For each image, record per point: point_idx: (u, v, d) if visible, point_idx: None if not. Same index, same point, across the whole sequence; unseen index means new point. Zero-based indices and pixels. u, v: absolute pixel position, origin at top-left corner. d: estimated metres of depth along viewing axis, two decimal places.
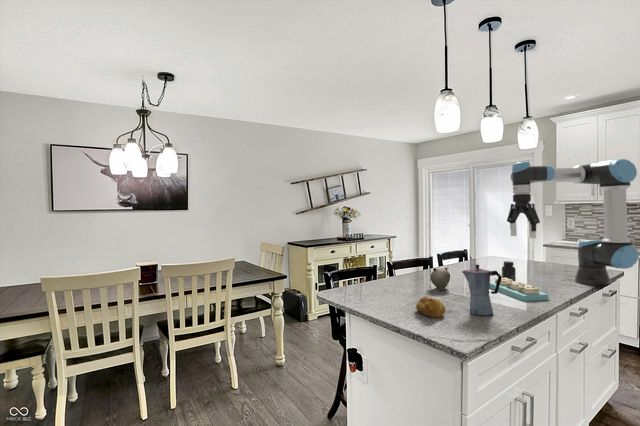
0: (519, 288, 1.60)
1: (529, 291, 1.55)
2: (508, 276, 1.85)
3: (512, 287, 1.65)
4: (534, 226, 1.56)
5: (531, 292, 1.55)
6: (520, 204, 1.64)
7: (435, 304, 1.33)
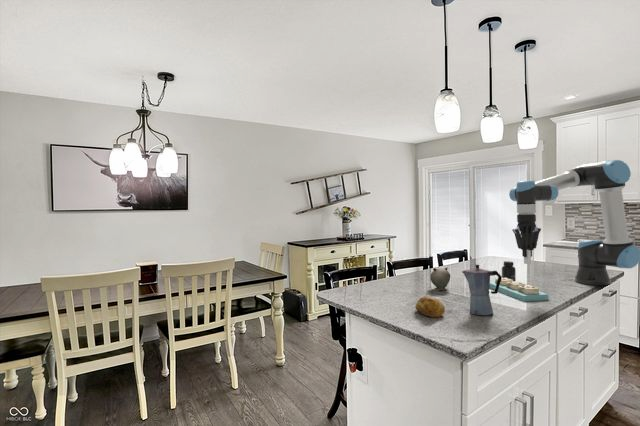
0: (519, 288, 1.60)
1: (529, 291, 1.55)
2: (508, 276, 1.85)
3: (512, 287, 1.65)
4: (523, 251, 1.58)
5: (531, 292, 1.55)
6: None
7: (434, 304, 1.33)
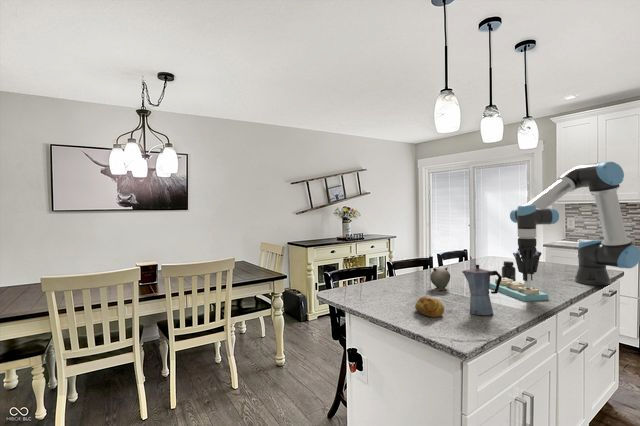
0: (520, 290, 1.60)
1: (529, 292, 1.55)
2: (508, 276, 1.85)
3: (512, 287, 1.65)
4: (523, 275, 1.58)
5: (531, 293, 1.55)
6: None
7: (433, 304, 1.33)
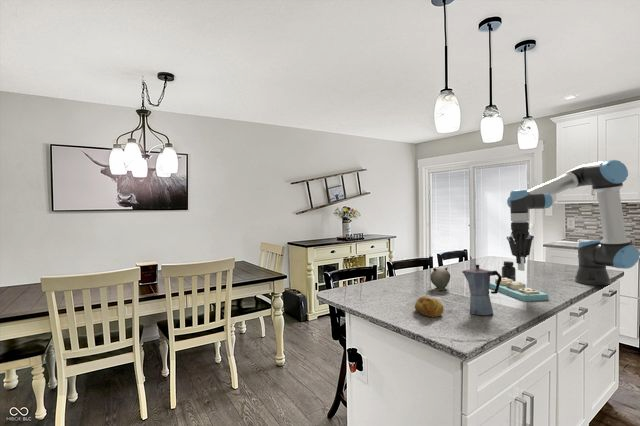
0: (520, 291, 1.60)
1: None
2: (508, 276, 1.85)
3: (512, 287, 1.65)
4: (517, 258, 1.63)
5: None
6: None
7: (433, 304, 1.34)
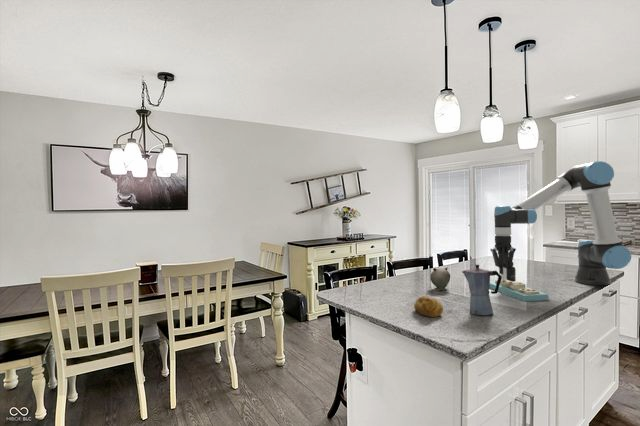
0: (520, 291, 1.60)
1: None
2: (508, 276, 1.85)
3: (512, 287, 1.65)
4: (499, 269, 1.76)
5: None
6: None
7: (432, 304, 1.34)
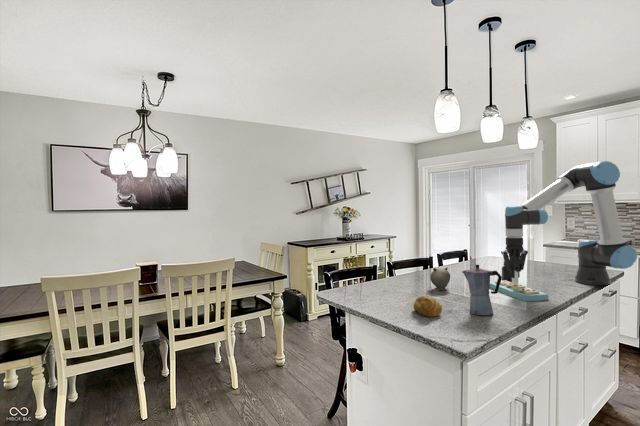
0: (520, 291, 1.60)
1: None
2: (508, 276, 1.85)
3: (512, 289, 1.65)
4: (511, 273, 1.67)
5: None
6: None
7: (430, 304, 1.34)
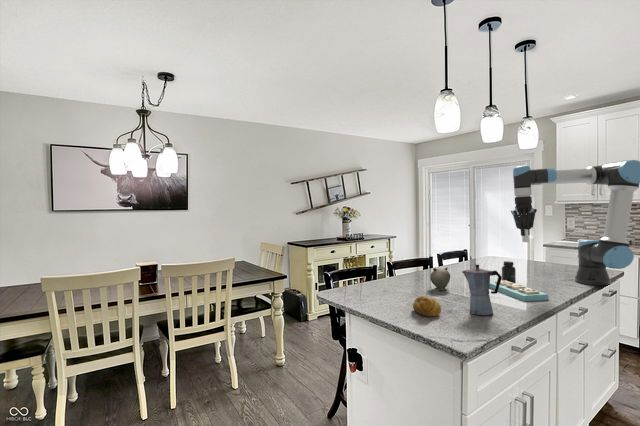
0: (520, 291, 1.60)
1: None
2: (508, 276, 1.85)
3: None
4: (521, 231, 1.73)
5: None
6: None
7: (429, 303, 1.34)
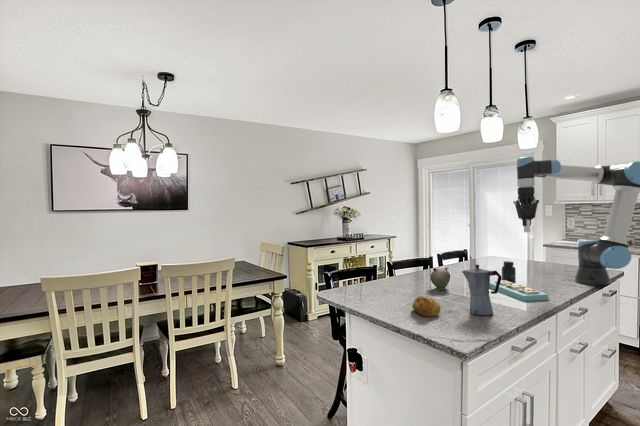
0: (520, 291, 1.60)
1: None
2: (508, 276, 1.85)
3: None
4: (523, 221, 1.75)
5: None
6: None
7: (429, 303, 1.34)
